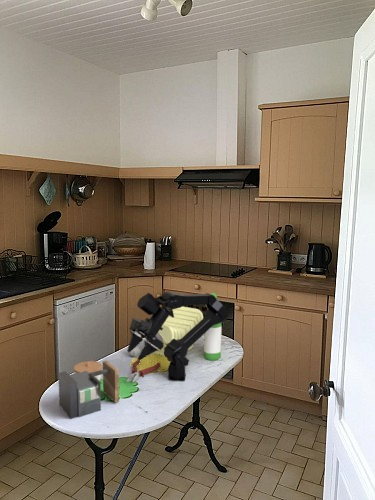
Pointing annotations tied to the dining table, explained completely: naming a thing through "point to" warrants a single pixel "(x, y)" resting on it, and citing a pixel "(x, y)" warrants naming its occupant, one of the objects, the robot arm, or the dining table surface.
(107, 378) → the wooden slab
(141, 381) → the dining table surface
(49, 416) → the dining table surface
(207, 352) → the wine bottle
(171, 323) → the slatted curved stool
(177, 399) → the dining table surface
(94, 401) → the grey notched block
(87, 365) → the lidded jar
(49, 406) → the dining table surface
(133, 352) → the garlic
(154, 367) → the pliers
